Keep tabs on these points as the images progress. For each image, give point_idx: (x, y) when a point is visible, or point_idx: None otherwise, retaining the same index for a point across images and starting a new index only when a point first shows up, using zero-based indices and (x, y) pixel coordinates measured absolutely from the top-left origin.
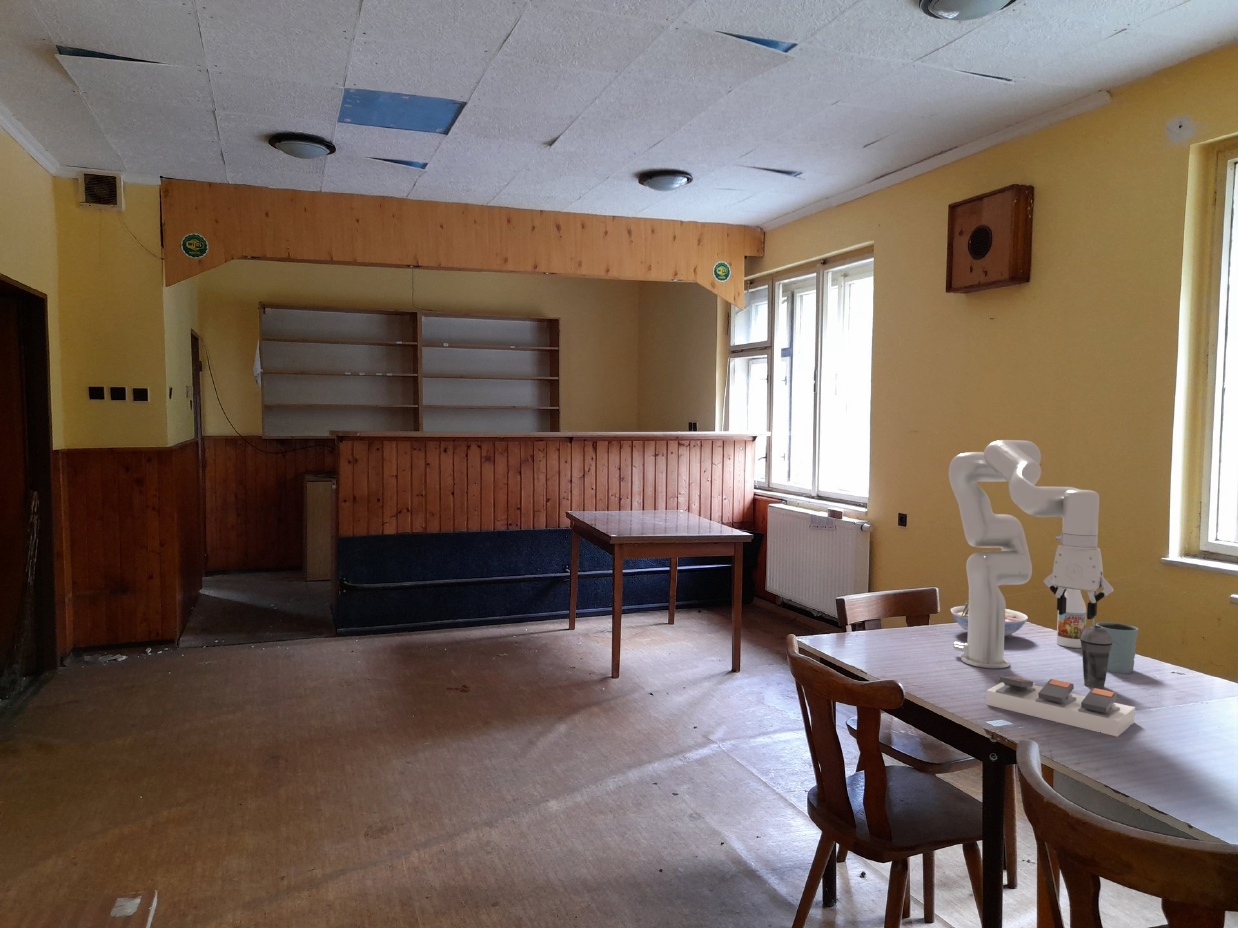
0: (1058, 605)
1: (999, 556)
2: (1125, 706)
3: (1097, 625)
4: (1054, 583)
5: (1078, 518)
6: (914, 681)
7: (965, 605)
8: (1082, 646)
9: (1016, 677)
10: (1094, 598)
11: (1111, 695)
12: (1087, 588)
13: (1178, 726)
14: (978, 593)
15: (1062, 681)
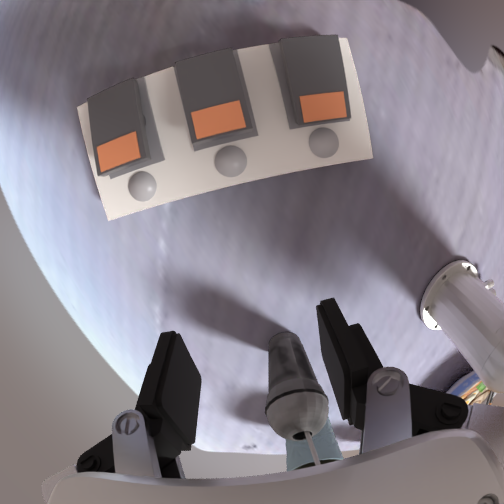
0: (358, 340)
1: None
2: (118, 207)
3: (339, 458)
4: (465, 437)
5: None
6: (469, 86)
7: (492, 398)
8: (315, 383)
9: (337, 112)
10: (117, 437)
11: (98, 153)
12: (102, 489)
13: (86, 260)
14: None
15: (218, 131)
